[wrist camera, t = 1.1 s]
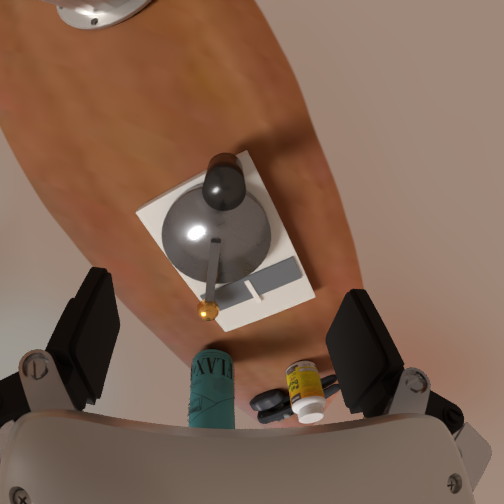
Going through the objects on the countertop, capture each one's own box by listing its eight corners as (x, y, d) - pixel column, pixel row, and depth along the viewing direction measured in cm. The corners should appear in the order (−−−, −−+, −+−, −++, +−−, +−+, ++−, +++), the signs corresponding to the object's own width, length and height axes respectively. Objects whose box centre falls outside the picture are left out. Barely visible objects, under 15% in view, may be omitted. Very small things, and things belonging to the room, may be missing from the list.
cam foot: (169, 145, 25) (151, 162, 19) (285, 160, 26) (301, 181, 21) (164, 301, 34) (155, 341, 29) (251, 309, 36) (256, 350, 30)
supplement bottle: (290, 358, 45) (301, 411, 36) (320, 359, 46) (335, 409, 37) (281, 376, 48) (289, 426, 39) (309, 377, 49) (320, 424, 40)
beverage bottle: (240, 346, 42) (248, 471, 25) (225, 369, 45) (228, 481, 28) (198, 336, 41) (192, 466, 24) (187, 360, 44) (180, 476, 27)
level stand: (139, 206, 29) (134, 214, 28) (246, 149, 27) (247, 153, 26) (225, 324, 40) (225, 334, 38) (312, 289, 37) (316, 299, 36)
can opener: (260, 408, 55) (263, 430, 50) (245, 395, 51) (247, 419, 46) (340, 381, 51) (347, 404, 47) (333, 365, 48) (340, 390, 43)
